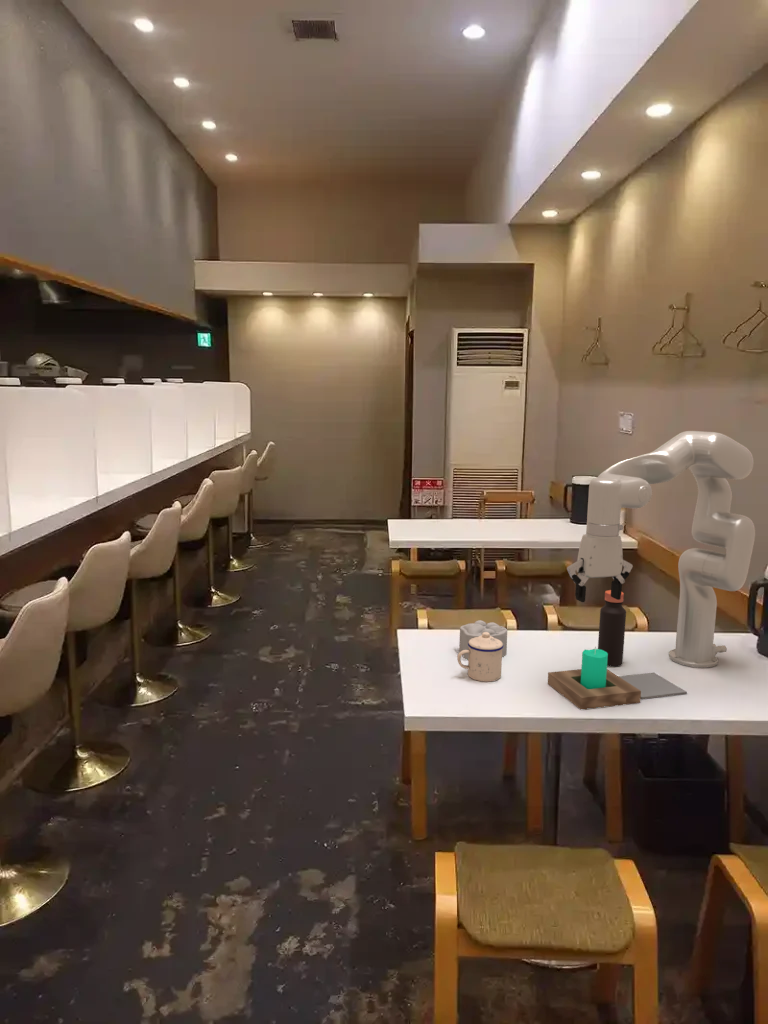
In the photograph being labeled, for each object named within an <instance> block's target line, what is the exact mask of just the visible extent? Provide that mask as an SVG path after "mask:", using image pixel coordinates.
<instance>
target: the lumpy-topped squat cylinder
mask: <svg viewBox="0 0 768 1024" xmlns="http://www.w3.org/2000/svg"><path fill="white" fill-rule="evenodd" d="M483 632H488V633H490V636H492V637H493V638H496V639H498V640H500V641H501V642H502V643H503V648H502V657H503V658H504V656H505V657H506V656H507V652H508V651H507V648H508V629H507V628H506V627H504V626H502V625H499V624H498V623H496V622H493V621H492V622H486V621H484V620H480V619H479V620H475V622H474V623H473V622H472V623H467V624H464V625H461V626H460V627H459V643H458V644H459V648H458V649H459V653H460V652H461V651H462V650H469V646H468V642H469V640H470V639H472V638H475V637H479V636H481V635H482V633H483ZM462 656H463V658H464V659H465V660H468V657H469V653H465V654H463V655H462Z"/></svg>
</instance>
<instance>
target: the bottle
mask: <svg viewBox="0 0 768 1024" xmlns="http://www.w3.org/2000/svg"><path fill="white" fill-rule="evenodd" d="M624 595H625V593H624V592H623V591H621V598H620V600H617V599H615V598H613V597H611V589H609V590H605V592H604V602H605V604H604V605H603V606H601V608H600V611H599V624H598V625H599V626H598V639H597V641H598V642H597V649H600V650H603V651H605V652H607V653H608V660H607V667H614V668H615V667H620V666H622V665H623V662H624V661H623V660H624V651H625V650H624V648H625V647H624V646H625V633H626V622H627V621H626V618H627V611H626V609H625V608H624V607H623V604H624V600H625V599H624Z"/></svg>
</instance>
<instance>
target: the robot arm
mask: <svg viewBox="0 0 768 1024" xmlns="http://www.w3.org/2000/svg"><path fill="white" fill-rule="evenodd" d="M754 462H755V461H754V457H753V454H752V452H751V451H750V450H749V448H748V447H746V446H745V445H743V444H741V443H739V442H738V441H736V440H734V438H731V437H730V436H728V435H726V434H724V433H720V432H716V431H715V432H714V431H703V430H702V431H700V430H699V431H698V430H686V431H682V432H680V433H678V434H677V435H675V436H673V437H672V438H670V439H669V440H668V441H666V442H665V443H663V444H662V445H660V446H659V447H658V448H656V449H655V450H653V451H651V452H648V453H645V454H640V455H638V456H634V457H631V458H629V459H628V458H627V459H625V460H621V461H619V462H617V463H615V464H613V465H611V466H610V467H608V468H606V469H605V470H604V471H602V472H601V473H600V474H599V475H598V476H597V477H596V478H593V479H591V480H590V481H589V486H588V500H587V501H588V502H587V513H586V515H587V517H586V519H587V520H586V532H585V534H582V537H581V540H580V544H579V549H578V553H577V560H576V561H575V562H574V563H572V564H570V565H568V566H567V567H566V570H567V572H568V574H569V579H571V580H572V582H573V583H574V584H575V590H574V592H575V593H574V597H575V600H577V601H578V602H581V603H585V602H586V594H587V593H586V592H587V586H586V583H587V582H588V580H589V579H596V578H597V579H598V578H612V579H613V580H611V584H610V590H611V597H613V598H615V599H617V600H620V598H621V592H623V590H622V588H623V584H624V583H626V581H625V580H627V578H628V577H629V576H630V573H631V572H632V571H631V570H632V569H633V567H634V566H633V564H632V563H631V562H628V561H627V560H625V559H624V558H623V557H624V555H623V552H624V551H623V543H622V536H621V535H620V531H623V529H624V525H623V524H621V512H622V511H621V510H622V508H624V509H625V508H626V509H634V510H635V509H640V508H643V507H645V506H646V505H648V503H649V502H650V501H651V499H652V496H653V489H652V486H651V485H655V484H662V483H666V482H671V481H672V480H674V479H675V478H677V477H678V476H679V475H681V474H682V473H683V472H685V471H686V470H687V469H688V470H689V471H690V473H691V474H692V475H693V478H694V480H695V481H696V482H695V483H696V486H697V498H696V499H697V500H696V504H695V508H694V509H695V510H694V514H693V519H692V525H691V537H692V538H693V540H694V541H696V542H697V543H700V544H703V545H707V546H711V547H717V548H724V549H725V553H724V552H719V551H717V550H710V549H706V548H697V547H692V548H689V549H686V550H685V551H683V552H682V554H681V555H680V556H679V559H678V564H677V565H678V568H677V569H678V576H679V601H678V602H679V603H678V613H677V626H676V635H675V636H676V638H675V646H674V647H675V648H673V649H671V650H670V651H669V652H668V657H669V659H670V660H671V661H673V662H675V663H677V664H680V665H683V666H685V667H686V666H687V667H691V668H700V669H701V668H702V669H704V668H712V667H715V666H717V665H718V663H719V659H718V657H717V656H716V655H718V653H719V654H721V653H727V651H728V650H727V649H728V647H727V645H717V644H715V643H714V637H715V629H716V628H715V627H716V616H717V607H718V603H717V602H718V601H717V595H716V592H715V590H714V589H715V588H716V589H719V590H722V591H727V592H728V591H729V592H736V591H738V590H740V589H741V588H743V586H744V584H745V582H746V580H747V577H748V574H749V570H750V569H749V568H750V564H751V559H752V554H753V550H754V544H755V539H756V527H755V524H754V522H753V520H752V519H751V518H750V517H748V516H746V515H743V514H740V513H738V514H737V513H733V512H731V506H732V505H731V504H732V500H733V493H732V488H731V485H730V483H729V481H728V480H734V481H735V480H736V481H738V480H744V479H745V478H747V477H748V476H749V475H750V474H751V472H752V471H753V468H754ZM727 479H728V480H727ZM577 573H578V574H577Z"/></svg>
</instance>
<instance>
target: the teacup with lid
mask: <svg viewBox="0 0 768 1024" xmlns="http://www.w3.org/2000/svg"><path fill="white" fill-rule="evenodd" d="M468 646H469V650H462V651H461V652H459V653H458V654H457V660H456V661H457V663H458V665H459V666H460V667H461V668H463V669H465V670H467V675H468V677H470V679H472V680H475V681H479V682H486V683H487V682H495V681H499V679H501V677H502V665H503V664H502V663H503V658H502V648H503V643H502V642H501V641H500V640H498V639H496V638H493V637H492V636H490V633H488V632H483V633H482V635H481V636H479V637H475V638H472V639H470V640H469V642H468ZM465 653H469V657H468V661H467V665H466V664H463V662H462V660H461V658H462V656H463V654H465Z"/></svg>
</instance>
